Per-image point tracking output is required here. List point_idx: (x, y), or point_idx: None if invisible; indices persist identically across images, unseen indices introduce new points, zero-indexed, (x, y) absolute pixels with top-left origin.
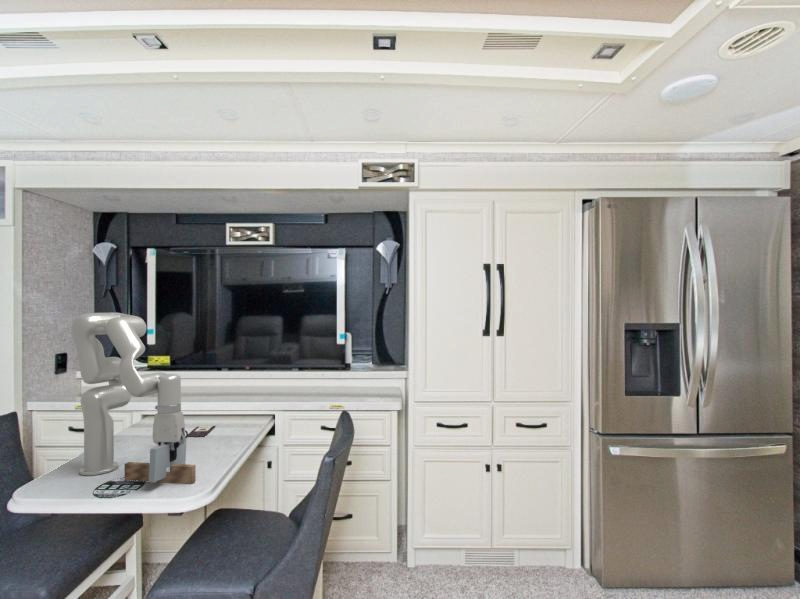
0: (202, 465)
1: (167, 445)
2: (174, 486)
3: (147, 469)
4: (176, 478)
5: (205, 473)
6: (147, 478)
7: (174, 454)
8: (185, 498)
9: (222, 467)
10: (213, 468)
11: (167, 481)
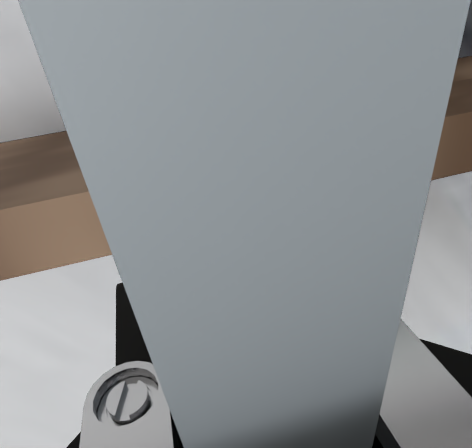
0: None
1: (179, 420)
2: (4, 58)
3: None
4: (56, 145)
5: (24, 348)
6: None
7: (120, 329)
8: None
9: (12, 444)
10: (57, 414)
11: None
